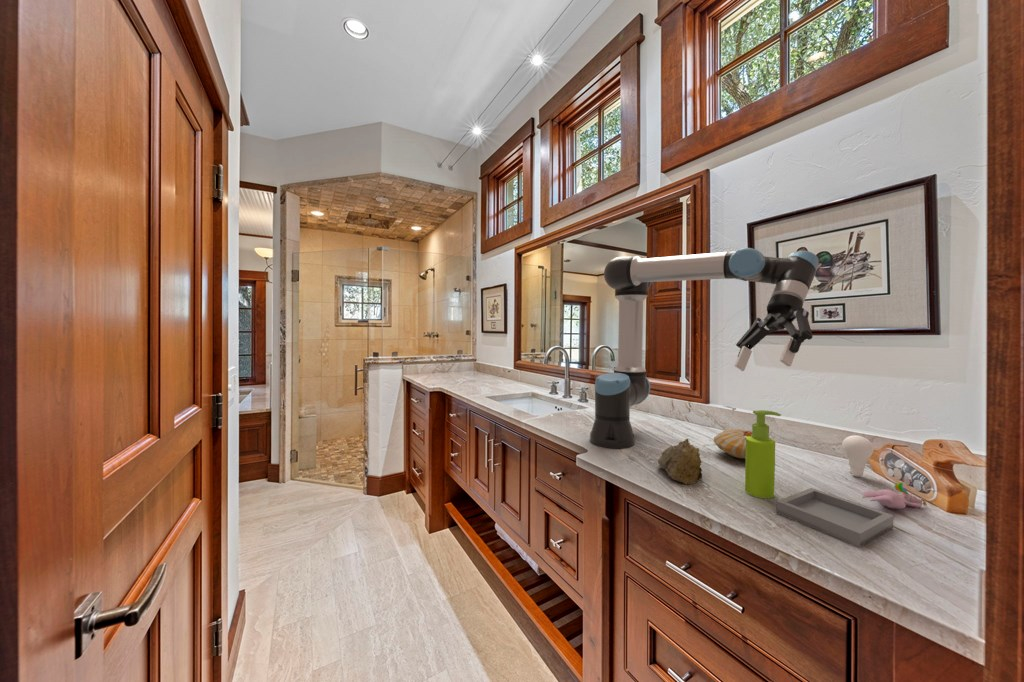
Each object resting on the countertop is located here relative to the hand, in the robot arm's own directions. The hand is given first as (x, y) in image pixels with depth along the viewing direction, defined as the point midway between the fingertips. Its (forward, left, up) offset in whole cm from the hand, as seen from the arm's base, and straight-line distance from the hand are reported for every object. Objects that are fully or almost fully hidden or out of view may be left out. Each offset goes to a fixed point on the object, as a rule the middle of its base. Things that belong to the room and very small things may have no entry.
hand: (760, 366), depth 95 cm
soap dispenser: (+5, -7, -30) cm, 31 cm away
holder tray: (+19, -7, -30) cm, 36 cm away
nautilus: (-12, +15, -30) cm, 36 cm away
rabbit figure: (+22, +11, -30) cm, 39 cm away
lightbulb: (+11, +25, -30) cm, 41 cm away
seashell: (-12, -15, -30) cm, 36 cm away
